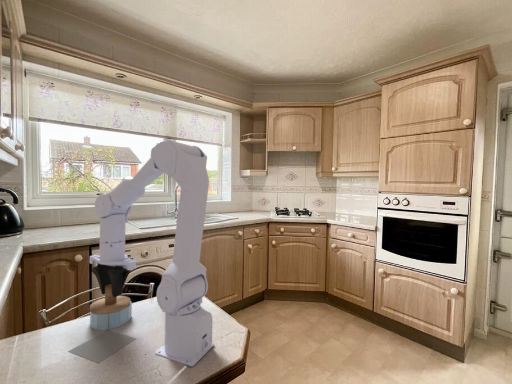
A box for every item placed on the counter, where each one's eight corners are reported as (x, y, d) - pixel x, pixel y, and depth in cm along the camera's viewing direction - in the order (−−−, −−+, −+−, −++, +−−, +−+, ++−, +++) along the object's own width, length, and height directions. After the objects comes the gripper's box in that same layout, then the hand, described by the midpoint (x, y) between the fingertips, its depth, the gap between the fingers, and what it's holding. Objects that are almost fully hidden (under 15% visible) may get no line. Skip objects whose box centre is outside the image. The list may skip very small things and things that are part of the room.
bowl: (138, 317, 68) (138, 301, 68) (107, 334, 59) (107, 316, 59) (114, 310, 71) (114, 296, 71) (81, 326, 63) (82, 309, 63)
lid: (138, 301, 68) (138, 282, 68) (108, 317, 59) (109, 294, 59) (112, 296, 71) (112, 278, 71) (80, 310, 62) (81, 289, 62)
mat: (136, 340, 57) (136, 338, 57) (98, 365, 49) (98, 363, 49) (108, 331, 61) (108, 329, 61) (68, 353, 52) (68, 351, 52)
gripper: (146, 240, 66) (145, 293, 66) (107, 236, 72) (106, 284, 72) (122, 245, 60) (121, 304, 60) (81, 240, 65) (80, 293, 65)
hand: (111, 294), depth 65 cm, fingers open, 3 cm apart
